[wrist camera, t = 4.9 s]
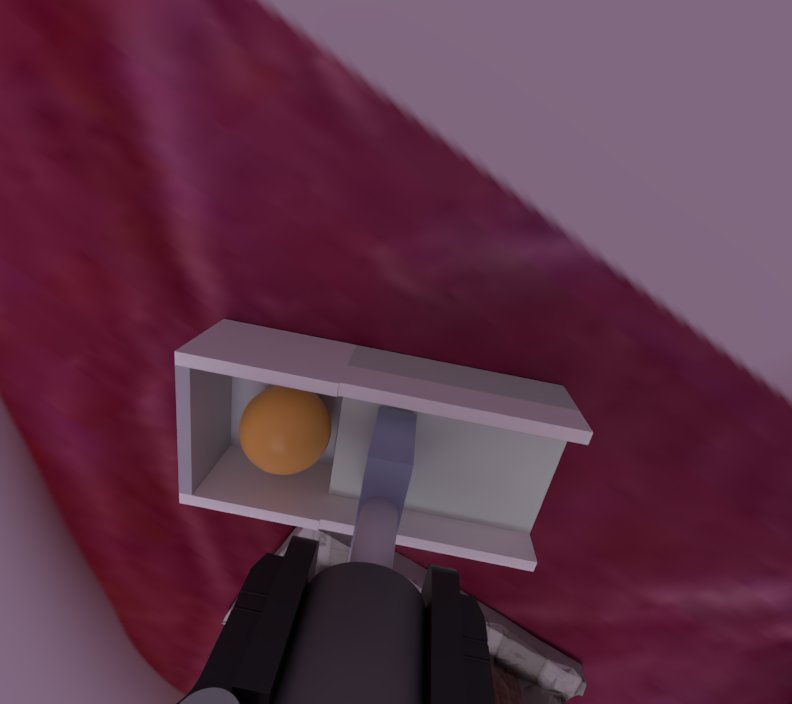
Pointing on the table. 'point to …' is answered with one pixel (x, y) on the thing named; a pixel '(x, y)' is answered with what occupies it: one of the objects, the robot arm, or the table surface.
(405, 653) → the striker
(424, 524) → the tray
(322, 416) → the ball
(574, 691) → the packaged product
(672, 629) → the table surface
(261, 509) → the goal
